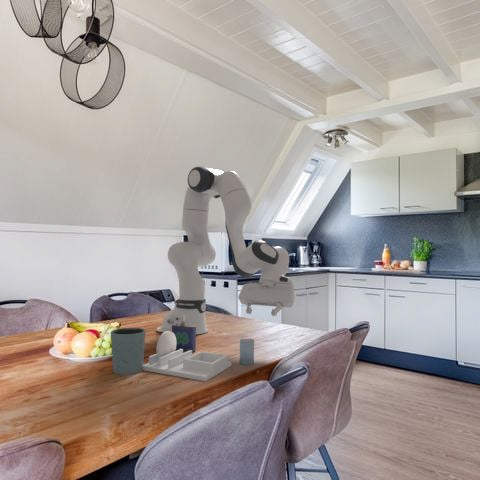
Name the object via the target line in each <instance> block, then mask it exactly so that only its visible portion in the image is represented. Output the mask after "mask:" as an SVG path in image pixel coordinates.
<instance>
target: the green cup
mask: <svg viewBox="0 0 480 480" xmlns="http://www.w3.org/2000/svg"><path fill="white" fill-rule="evenodd" d="M145 341H146V329H145V328H142V327H122V328H116V329H113V330H111V331H110V343H111V345H110V346H111V355H112V356H111V357H112V359H111V360H112V372H113V373H114V374H116V375H118V376H119V375H122V376H128V375H136V374H138V373H141V372H143V371H144V370H143V365H144V358H145V357H144V356H145V353H144V352H145V345H146V344H145V343H146V342H145Z"/></svg>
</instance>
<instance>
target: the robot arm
mask: <svg viewBox="0 0 480 480" xmlns="http://www.w3.org/2000/svg"><path fill="white" fill-rule="evenodd" d="M187 185H188V187H187V189H186V191H185V195H184V200H183V208H182V221H181V222H182V223H181V227H182V229H183V231H184V232H185V233H186V236H187V241H181V242H177V243H173V244H172V245H170V247H169V249H168V251H167V259H168V261H169V264H170V265H172V267H173V268H174V269H175V272H176V274H177V279H178V285H179V286H178V287H179V290H178V295H179V296H178V299H177V300H174V301H173V304H175V307H174V308H173V309H171V310H170V311H169V312H168V313H167V314H165V315H164V316H163V317H162V318H163V319H162V323H161V326H159V327H157V328H156V332H160V333H163V332H165V331H171V332H172V325H174V324H177V323H178V324H179V325H180V324H181V323H182V322H181V321H186V322H185V323H186V324H185V325H189V326H196V335H201V334H205V333H208V332H209V330H208V325H207V320H206V319H207V318H206V308H207V307H206V305H207V304H206V303H207V302H206V300H207V299H206V298H205V297H206V296H205V293H206V292H205V291H206V290H205V289H206V287H205V286H206V283H205V279H204V278H203V277H202V276H201V275H200V272H199V268H201V267H206V266H209V265H211V264H213V263H214V261H215V259H216V255H217V253H216V249H215V248H214V246H213V245H212V243H211V240H210V237H209V236H210V235H209V229H208V227H209V226H208V225H209V209H210V208H209V207H210V201H211V199H212V198H214V199H219V198H220V199H221V203H222V205H223V209H224V215H225V217H224V218H225V230H226V234H227V239H228V243H229V247H230V250H231V255H232V267H233V270H234V272H235V273H236V274H237V275H238V276H240V277H241V278H245V279H248V278H250V279H251V278H252V277H253V276H254V275H255V274H257V272H259V270H260V271H261V274H260V277H259V280H258V282H257V281H255V282H251V281H248V283H247V282H246V283H244V284H243V285H242V288H241V290H240V293H239V294H238V300H239V302H240V304H241V305H245V306H246V309H245V314H249V315H251V314H252V313H253V309H252V306H263V307H274V308H272V309H271V312H270V314H271V316H272V317H277V315H278V313H279V312H280V311H281V310H283V308H292V307H293V306H294V302H295V285H294V283H293V281H292V278H290V277H287V276H286V274H287V272H288V268H289V264H290V254H289V252H288V251H287V250H286V249H285V248H284V247H282V246H272V245H271V244H270V243H268V242H266V241H264V240H261V239H257V240H254V241H253V242H252V243H250V245H248V246H247V245H246V242H245V239H244V236H243V235H244V234H243V228H244V224H245V222H246V220H247V218H248V216H249V214H250V212H251V210H252V200H251V196H250V193H249V191H248V189H247V187H246V185H245V182H244V181H243V180H242V178H241V177H240V175H239V174H238V173H237V172H236V171H233V170H227V171H223V170H221V169H217V168H212V167H211V168H210V167H205V166H195V167H193V168H192V169H191V170H190V171H189V173H188V175H187ZM246 246H247V247H246Z"/></svg>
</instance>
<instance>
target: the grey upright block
mask: <svg viewBox="0 0 480 480" xmlns="http://www.w3.org/2000/svg"><path fill="white" fill-rule="evenodd" d="M239 364H240V365H242V366H244V365H245V366H250V365H251V366H252V365H254V364H255V339H253V338H240V339H239Z"/></svg>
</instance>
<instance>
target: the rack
mask: <svg viewBox="0 0 480 480" xmlns="http://www.w3.org/2000/svg"><path fill="white" fill-rule="evenodd" d="M176 343H177V342H176V336H175V334H174V333H173V332H171V331H165V332H161V334H160V336H159V337H158V339H157V342H156V346H155V347H156V348H155V350H156V353H155V354H151V355H149V356H148V363H146V364H143V370H142V371H147V372H151V373H157V374H164V375H168V376H174V377H179V378H185V379H191V380H196V381H202V382H207V381H209V380H211V379H212V378H214V377H215V376H217V375H219V374H220V373H222V372H224V371H225V370H227V369H229V368H230V367H232V364H233V363H232V361H231V360H230V361H229V359H230V357H229V356H230V355H229V354H222V353H216V352H209V351H208V352H207V351H202V350H201V351H198V352H195V353H194V354H193V352H192V350H189V351H187V352H183V349H179V350H177V351H175V350H176Z"/></svg>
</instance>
